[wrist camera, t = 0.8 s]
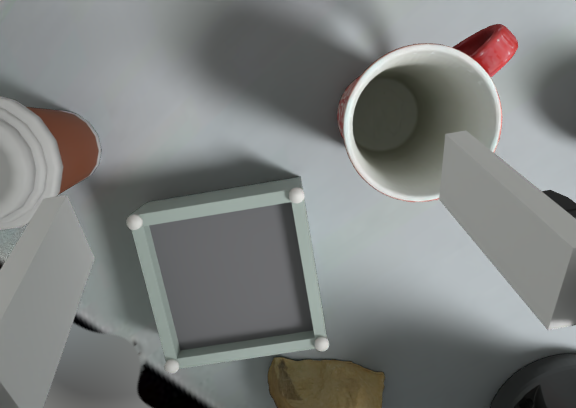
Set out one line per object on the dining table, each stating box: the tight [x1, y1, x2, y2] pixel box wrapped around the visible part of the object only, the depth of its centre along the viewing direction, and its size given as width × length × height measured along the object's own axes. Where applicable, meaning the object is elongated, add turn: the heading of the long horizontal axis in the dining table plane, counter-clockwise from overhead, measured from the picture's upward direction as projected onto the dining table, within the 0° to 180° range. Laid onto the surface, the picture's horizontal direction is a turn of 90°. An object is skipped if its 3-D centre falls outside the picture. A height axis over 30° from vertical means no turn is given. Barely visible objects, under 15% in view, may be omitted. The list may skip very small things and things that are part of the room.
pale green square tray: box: [126, 177, 329, 374], centre depth 39 cm, size 14×14×5 cm
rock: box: [268, 357, 385, 408], centre depth 41 cm, size 11×9×10 cm
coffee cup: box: [0, 96, 102, 230], centre depth 33 cm, size 9×9×12 cm
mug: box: [337, 24, 518, 202], centre depth 32 cm, size 13×9×14 cm
